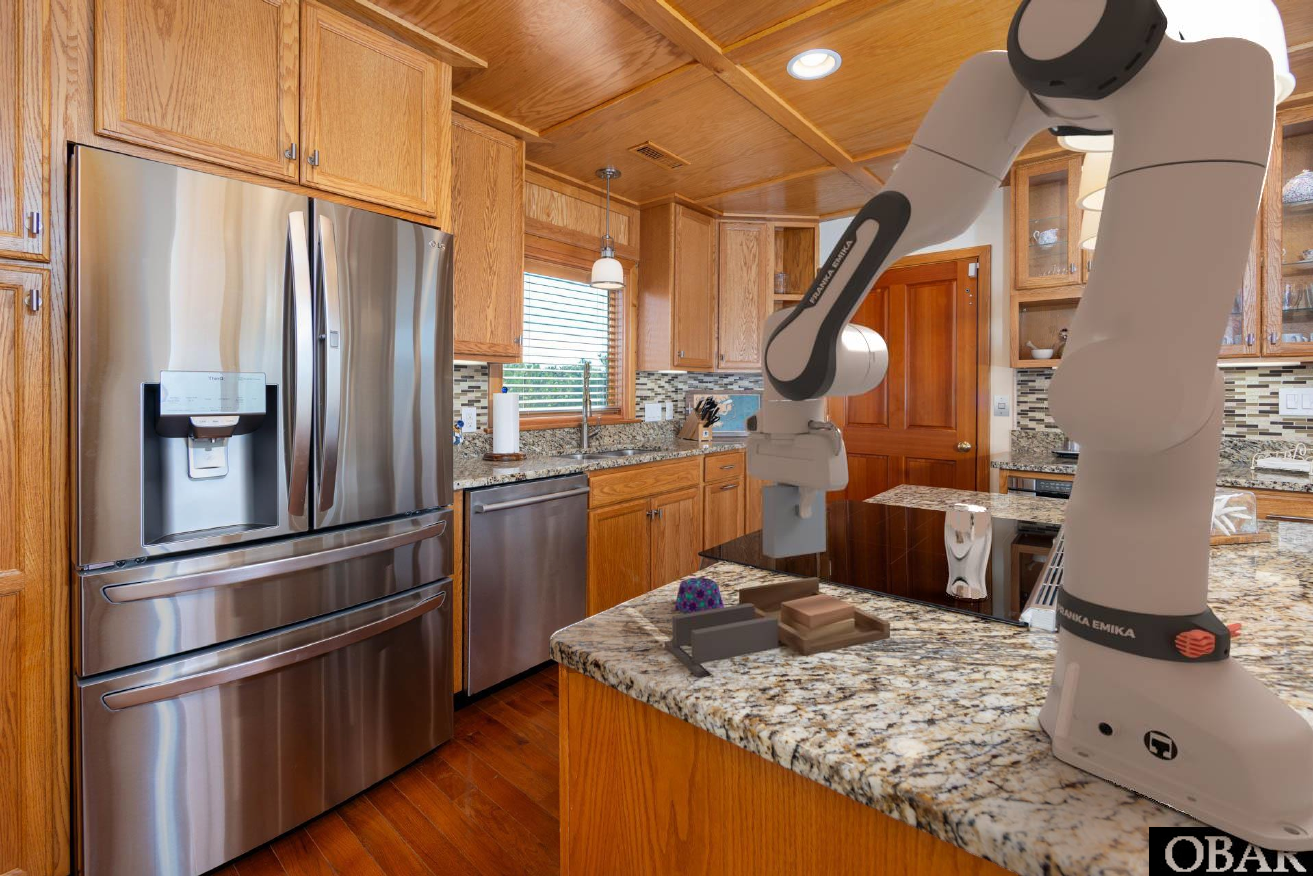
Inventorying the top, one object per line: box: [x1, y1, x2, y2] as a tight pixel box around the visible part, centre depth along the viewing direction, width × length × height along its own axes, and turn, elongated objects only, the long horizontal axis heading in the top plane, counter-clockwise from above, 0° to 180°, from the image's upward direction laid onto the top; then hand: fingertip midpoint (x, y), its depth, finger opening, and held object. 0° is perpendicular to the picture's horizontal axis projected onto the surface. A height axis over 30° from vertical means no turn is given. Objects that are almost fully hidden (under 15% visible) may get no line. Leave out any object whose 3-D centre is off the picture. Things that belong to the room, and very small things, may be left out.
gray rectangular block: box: [761, 484, 827, 559], centre depth 91 cm, size 3×9×10 cm, turn 113°
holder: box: [664, 603, 779, 679], centre depth 82 cm, size 10×13×5 cm
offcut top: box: [781, 593, 855, 629], centre depth 87 cm, size 6×8×2 cm
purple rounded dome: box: [674, 577, 725, 614], centre depth 97 cm, size 12×12×5 cm
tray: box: [738, 576, 891, 657], centre depth 89 cm, size 16×14×5 cm
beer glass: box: [944, 503, 993, 599], centre depth 103 cm, size 7×7×15 cm
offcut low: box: [781, 616, 855, 641], centre depth 87 cm, size 6×8×2 cm
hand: (794, 514), depth 91 cm, fingers closed on gray rectangular block, 3 cm apart
